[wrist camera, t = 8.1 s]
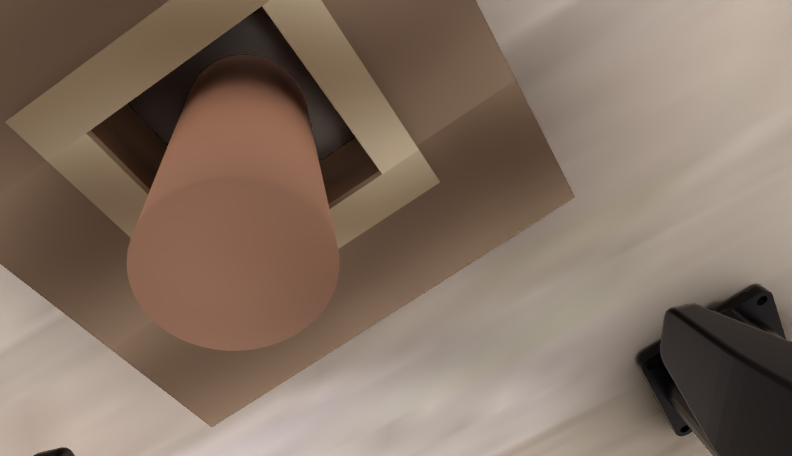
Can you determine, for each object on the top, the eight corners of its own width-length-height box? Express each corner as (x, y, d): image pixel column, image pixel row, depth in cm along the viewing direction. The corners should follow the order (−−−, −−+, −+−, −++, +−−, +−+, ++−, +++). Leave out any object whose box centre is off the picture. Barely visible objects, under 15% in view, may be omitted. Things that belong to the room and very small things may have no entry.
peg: (329, 127, 19) (377, 282, 11) (239, 188, 19) (223, 380, 11) (258, 30, 17) (255, 133, 9) (160, 100, 17) (77, 256, 10)
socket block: (533, 158, 21) (579, 201, 18) (218, 362, 22) (211, 434, 19) (294, -291, 14) (303, -348, 11) (-143, 52, 15) (-243, 88, 12)
